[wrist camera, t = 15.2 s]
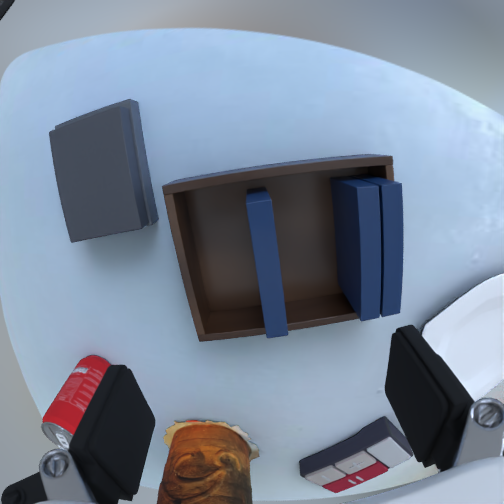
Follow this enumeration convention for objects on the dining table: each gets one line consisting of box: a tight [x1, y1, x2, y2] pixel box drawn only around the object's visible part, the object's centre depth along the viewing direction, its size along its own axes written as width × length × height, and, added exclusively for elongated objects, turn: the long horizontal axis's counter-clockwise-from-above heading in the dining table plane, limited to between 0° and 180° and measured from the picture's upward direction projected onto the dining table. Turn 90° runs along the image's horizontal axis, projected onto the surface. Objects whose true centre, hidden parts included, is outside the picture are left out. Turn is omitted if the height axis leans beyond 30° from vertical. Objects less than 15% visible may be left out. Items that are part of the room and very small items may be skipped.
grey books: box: [49, 99, 158, 243], centre depth 24 cm, size 11×8×4 cm
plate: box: [422, 273, 504, 401], centre depth 32 cm, size 23×23×2 cm
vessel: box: [157, 420, 260, 504], centre depth 28 cm, size 14×14×20 cm
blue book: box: [246, 187, 288, 338], centre depth 24 cm, size 10×2×7 cm, turn 9°
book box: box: [162, 154, 394, 342], centre depth 26 cm, size 13×17×5 cm
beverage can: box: [41, 355, 111, 451], centre depth 27 cm, size 5×5×12 cm
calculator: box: [299, 417, 413, 493], centre depth 37 cm, size 11×4×15 cm
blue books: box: [330, 174, 403, 321], centre depth 24 cm, size 10×3×7 cm, turn 9°
